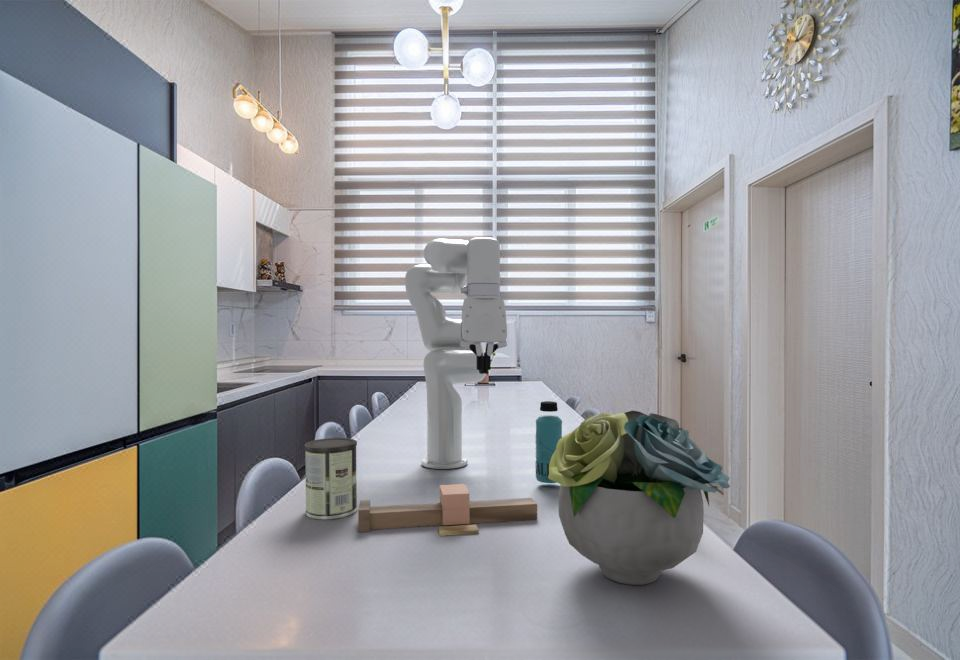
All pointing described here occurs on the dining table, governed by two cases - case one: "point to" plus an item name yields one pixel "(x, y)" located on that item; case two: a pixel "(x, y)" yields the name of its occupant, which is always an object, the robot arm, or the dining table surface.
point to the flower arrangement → (632, 493)
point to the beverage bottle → (546, 440)
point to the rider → (454, 504)
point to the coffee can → (331, 478)
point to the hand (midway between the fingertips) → (483, 373)
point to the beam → (433, 515)
